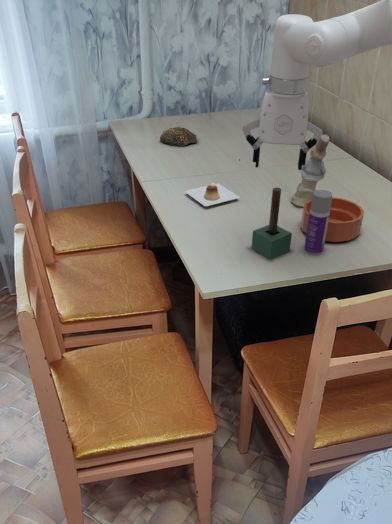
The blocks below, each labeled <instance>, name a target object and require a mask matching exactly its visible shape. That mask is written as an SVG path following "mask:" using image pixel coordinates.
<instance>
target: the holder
mask: <svg viewBox="0 0 392 524" xmlns="http://www.w3.org/2000/svg"><path fill="white" fill-rule="evenodd" d="M268 230H269V224H267V225H264V226H261V227H259V228H257V229H255V230H252V237H251V250H253V251H254V252H256V253H258V254H260V255H261V256H262V257H264V258H266V259H268V260H273V259H275V258H277V257H280V256H282V255H284V254H286V253H289V252H291V244H292V236H293V233H292V232H290V231H289V230H287V229H285V228H283V227H281V226H278V225H277V232H276V235H273V236H271V235H270V234H268Z"/></svg>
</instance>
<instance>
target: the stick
mask: <svg viewBox="0 0 392 524" xmlns="http://www.w3.org/2000/svg"><path fill="white" fill-rule="evenodd" d="M281 194H282V188H280V187H272V192H271V200H270V201H271V202H270V211H269V221H268V223H269V224H268V225H269V230H268V234H270V235H271V236H273V235H276V232H277V226H278V223H279V213H280V204H281V197H282V195H281Z"/></svg>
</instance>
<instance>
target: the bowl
mask: <svg viewBox="0 0 392 524" xmlns="http://www.w3.org/2000/svg"><path fill="white" fill-rule="evenodd" d="M311 203H312V199H311V200H309V201H307V202H306V203H305V204H304V207H303V206H302V213H301V220H300V228H301V230H302V232H304V233H305V235H306V234H307V227H308V221H309V214H310V208H311ZM364 215H365V211H364V209H363V207H362V206H361V205H359V204H358V203H357V202H354V201H352V200H350V199H345V198H342V197H336V196H335V197H334V196H332V201H331V208H330V215H329V220H328V226H327V231H326V237H325V242H330V243H332V242H333V243H336V242H341V243H342V242H346V241H351V240H353V239H355V238H357V237H358V236H359V235H360V234H361V229H362V225H363V219H364Z"/></svg>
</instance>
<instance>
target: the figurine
mask: <svg viewBox="0 0 392 524" xmlns="http://www.w3.org/2000/svg"><path fill="white" fill-rule="evenodd" d="M330 139H331V138H330V136H329V135H328V134H324V133H323V134H322V136H321V137H320V139H319V140H318V141H317V143H316V145H314V146H313V147H312V148H311V149H310V153H309V154H310V157H309V158H307V159H306V162H305V165H302V169H301V170H300V176H301V182H299V183H298V185H297V187H296V192H294V193H293V194H292V196H291V202H292V203H293V204H294V205H295V206H298V207H302V208H303V207H304V204H305V203H306V202H307V201H309V200H311V199H312V197H313V192H314V191H316V190H317V189H316V188H317V183H318V182H319V181H322V180H323V179H324V178H325V175H326V172H327V169H326V166H325V162H324V161H323V160H324V158H326V156H327V147H328V146H329V144H330Z"/></svg>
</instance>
